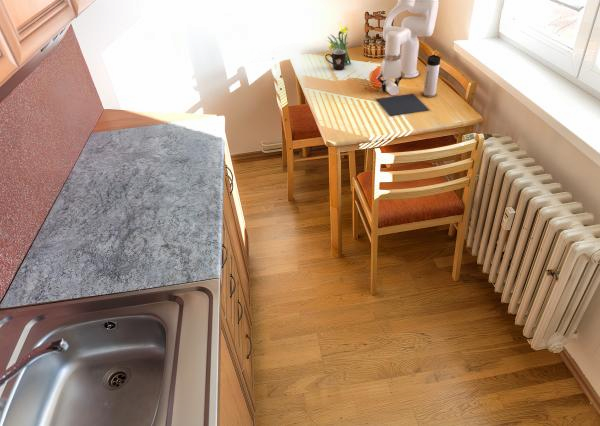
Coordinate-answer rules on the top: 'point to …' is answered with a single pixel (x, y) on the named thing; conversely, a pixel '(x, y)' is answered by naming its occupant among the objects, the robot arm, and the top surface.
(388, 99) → the slate mat
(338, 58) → the coffee mug
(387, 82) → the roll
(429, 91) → the travel mug
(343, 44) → the daffodil flowers
